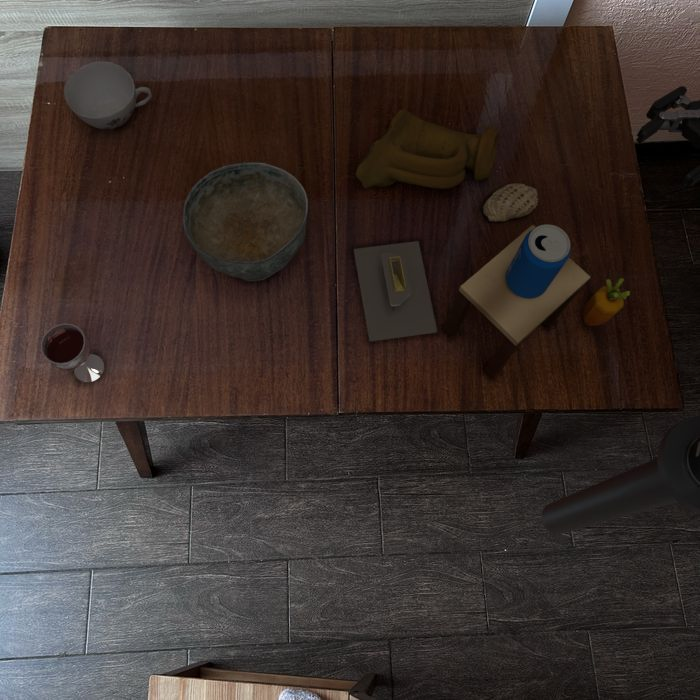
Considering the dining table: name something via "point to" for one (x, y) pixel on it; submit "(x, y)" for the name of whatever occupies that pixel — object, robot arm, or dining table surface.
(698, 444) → the robot arm
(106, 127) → the teacup
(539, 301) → the stool
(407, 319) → the platform
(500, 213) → the seashell
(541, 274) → the beverage can
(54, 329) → the wineglass
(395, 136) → the brown looped sculpture
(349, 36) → the dining table surface
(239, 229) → the bowl
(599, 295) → the carrot
